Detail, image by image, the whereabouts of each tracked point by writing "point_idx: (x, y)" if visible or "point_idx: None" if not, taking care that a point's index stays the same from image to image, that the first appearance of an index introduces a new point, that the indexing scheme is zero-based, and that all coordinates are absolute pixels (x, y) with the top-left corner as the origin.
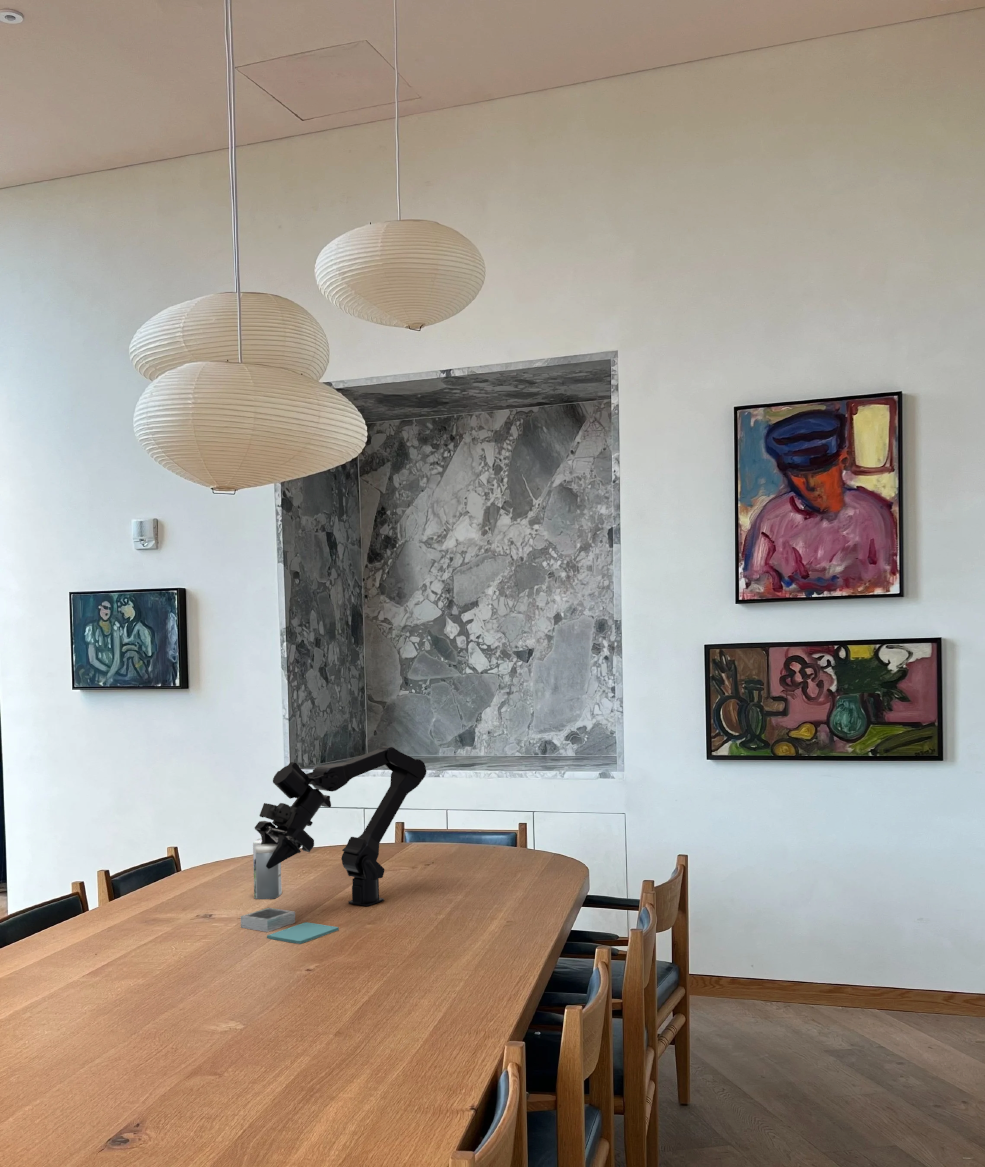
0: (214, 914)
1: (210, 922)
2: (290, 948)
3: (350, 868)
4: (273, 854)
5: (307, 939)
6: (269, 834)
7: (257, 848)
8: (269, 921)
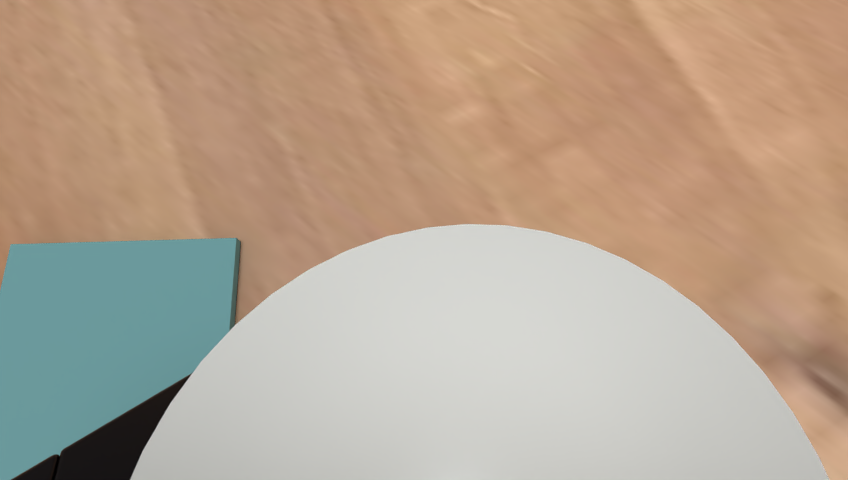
0: (835, 415)
1: (704, 300)
2: (28, 185)
3: None
4: (145, 438)
5: (2, 292)
6: None
7: (509, 234)
8: None
